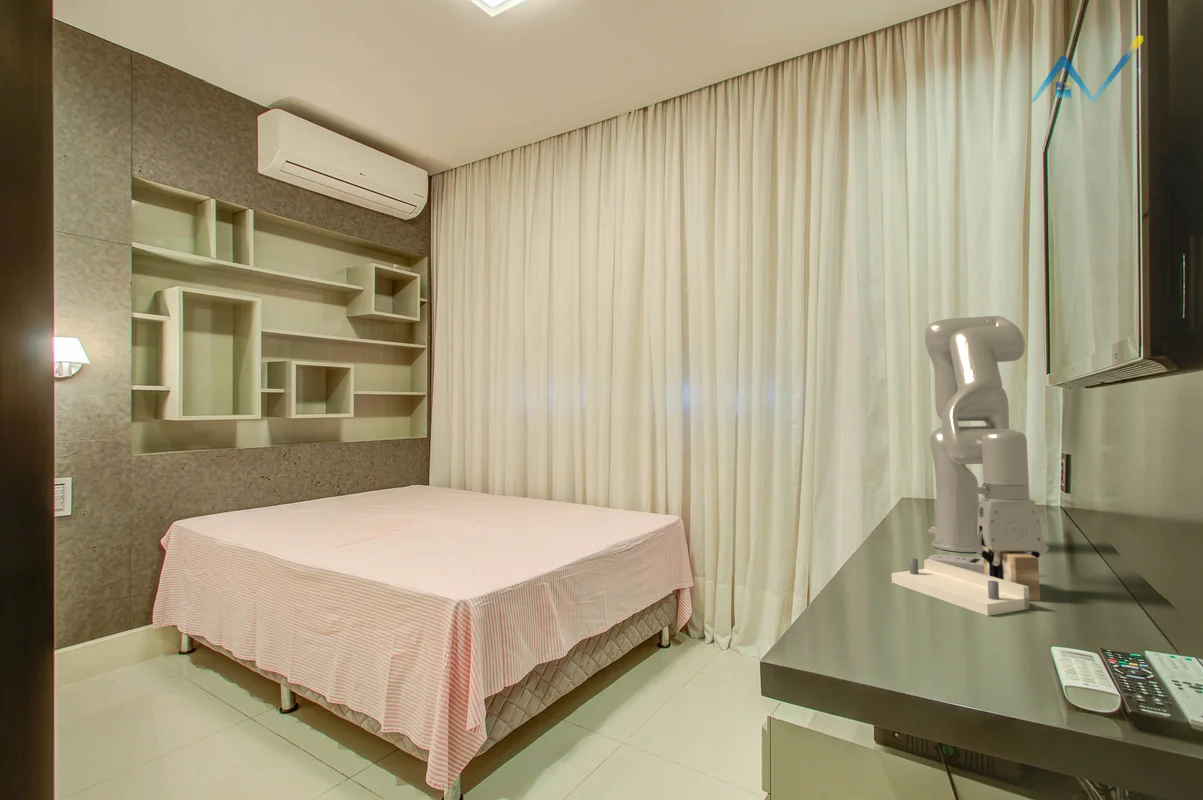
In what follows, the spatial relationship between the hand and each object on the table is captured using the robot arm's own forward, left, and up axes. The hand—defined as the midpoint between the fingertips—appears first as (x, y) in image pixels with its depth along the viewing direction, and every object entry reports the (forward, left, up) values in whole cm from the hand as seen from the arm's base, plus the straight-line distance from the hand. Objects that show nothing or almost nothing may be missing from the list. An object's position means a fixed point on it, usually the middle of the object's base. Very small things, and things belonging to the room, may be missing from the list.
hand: (1010, 583), depth 117 cm
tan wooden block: (0, 0, -1) cm, 1 cm away
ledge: (-2, -12, -1) cm, 12 cm away
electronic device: (-15, +5, -2) cm, 16 cm away
